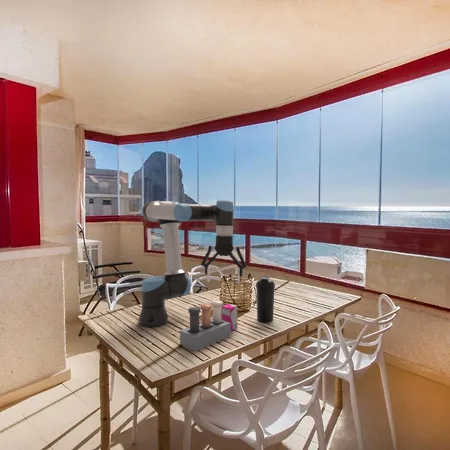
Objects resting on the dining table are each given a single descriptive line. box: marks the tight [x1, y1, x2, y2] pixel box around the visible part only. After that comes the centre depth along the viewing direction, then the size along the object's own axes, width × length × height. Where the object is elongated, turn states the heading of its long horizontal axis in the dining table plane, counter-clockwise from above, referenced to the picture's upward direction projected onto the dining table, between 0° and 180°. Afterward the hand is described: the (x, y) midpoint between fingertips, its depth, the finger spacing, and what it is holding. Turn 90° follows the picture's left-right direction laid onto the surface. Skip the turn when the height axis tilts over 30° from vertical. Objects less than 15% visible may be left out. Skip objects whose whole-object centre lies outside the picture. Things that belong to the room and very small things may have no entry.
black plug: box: [187, 306, 202, 332], centre depth 127 cm, size 5×5×9 cm
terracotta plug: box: [199, 303, 213, 327], centre depth 132 cm, size 5×5×9 cm
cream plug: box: [211, 300, 224, 323], centre depth 137 cm, size 5×5×9 cm
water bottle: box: [255, 275, 276, 324], centre depth 158 cm, size 10×10×23 cm
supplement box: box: [221, 303, 238, 332], centre depth 146 cm, size 6×6×12 cm
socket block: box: [179, 318, 232, 352], centre depth 133 cm, size 10×22×6 cm, turn 137°
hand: (223, 282), depth 131 cm, fingers open, 13 cm apart
